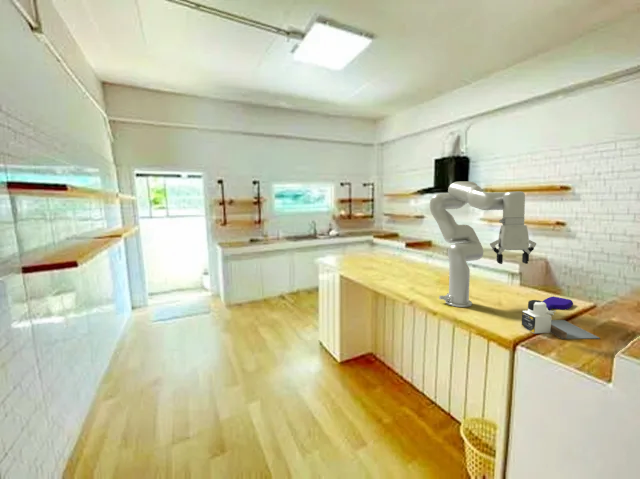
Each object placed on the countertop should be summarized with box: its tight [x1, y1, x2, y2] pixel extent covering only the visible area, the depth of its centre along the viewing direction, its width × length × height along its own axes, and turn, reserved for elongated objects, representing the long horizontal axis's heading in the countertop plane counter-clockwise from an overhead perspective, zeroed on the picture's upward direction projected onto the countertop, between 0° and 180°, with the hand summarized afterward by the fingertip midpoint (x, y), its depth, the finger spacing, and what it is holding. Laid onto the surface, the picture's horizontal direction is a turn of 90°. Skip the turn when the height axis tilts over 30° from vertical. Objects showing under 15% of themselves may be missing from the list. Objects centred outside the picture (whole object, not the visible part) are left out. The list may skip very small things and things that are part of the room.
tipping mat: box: [550, 319, 601, 340], centre depth 126 cm, size 14×18×2 cm
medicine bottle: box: [521, 299, 553, 334], centre depth 126 cm, size 7×7×12 cm
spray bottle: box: [542, 295, 574, 316], centre depth 151 cm, size 3×11×24 cm
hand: (512, 263), depth 128 cm, fingers open, 9 cm apart
